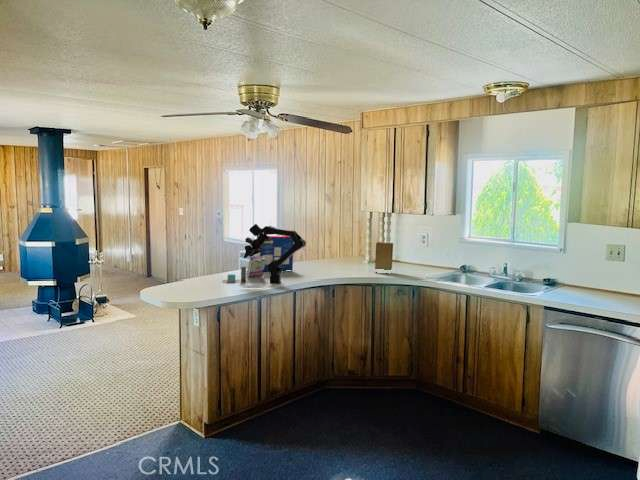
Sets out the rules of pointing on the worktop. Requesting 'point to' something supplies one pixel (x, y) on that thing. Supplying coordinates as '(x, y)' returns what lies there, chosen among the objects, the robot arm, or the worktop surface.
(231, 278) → the teal block
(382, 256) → the food packaging
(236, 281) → the walnut strip
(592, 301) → the worktop surface
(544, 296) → the worktop surface
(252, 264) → the candy bar box
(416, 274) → the worktop surface
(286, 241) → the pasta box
